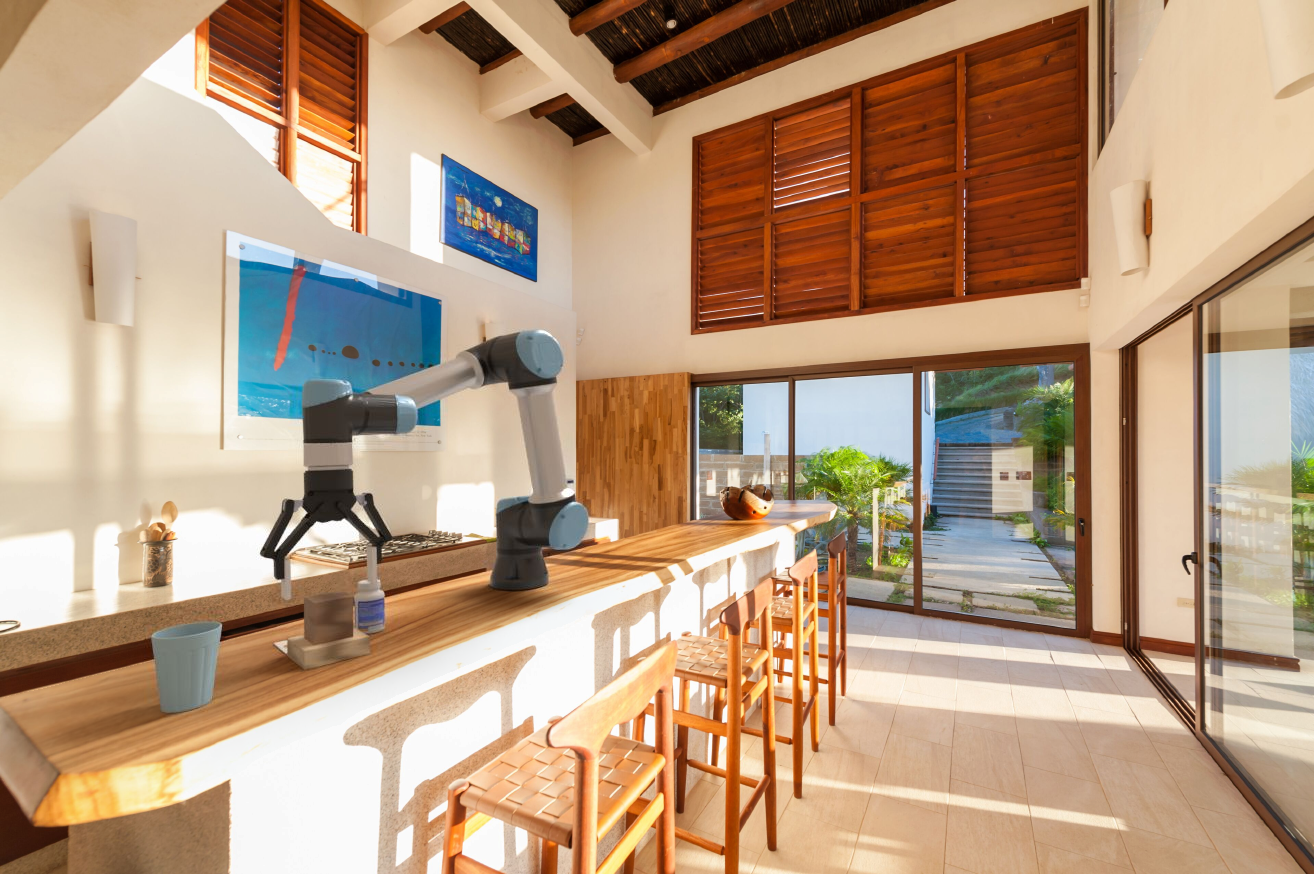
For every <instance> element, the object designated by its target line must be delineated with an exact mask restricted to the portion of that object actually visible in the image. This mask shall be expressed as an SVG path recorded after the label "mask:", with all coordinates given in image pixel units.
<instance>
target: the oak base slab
mask: <svg viewBox="0 0 1314 874" xmlns="http://www.w3.org/2000/svg"><path fill="white" fill-rule="evenodd" d="M286 639H287V654H286V655H287V657H289V658H290V659H291V660H292V662H294V663H295V664H297V665H298V666H299V667H300V668H301V669H303V670H304V671H307V670H310V669H314V668H319V667H323V666H327V665H330V664H335V663H338V662H339V663H340V662H343V661H347V660H350V659H355V658H359V657H363V656H366V655H370V653H371V636H370V635H369V634H365V633H363V632H361V631H359V630H358V629H356V628H355V626H353V637H350V638H346V639H341V640H337V641H332V642H328V643H323V644H319V645H313V644H312V643H311V642H309V641H308V640H307V639H305V638H304V634H300V635H297V636H291V637H287V638H286Z"/></svg>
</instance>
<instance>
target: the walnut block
mask: <svg viewBox="0 0 1314 874" xmlns="http://www.w3.org/2000/svg"><path fill="white" fill-rule="evenodd" d="M303 600H304V603H303V635H304V638H305V639H307V640H308V641H309V642H311V643H312V644H313V645H319V644H323V643H328V642H332V641H337V640H341V639H346V638H350V637H353V627H354V595H353V594H349V593H347V592H346V591H343V590H338V591H333V592H327V593H326V592H325V593H321V594H315V595H309V596H304V597H303Z"/></svg>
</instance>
